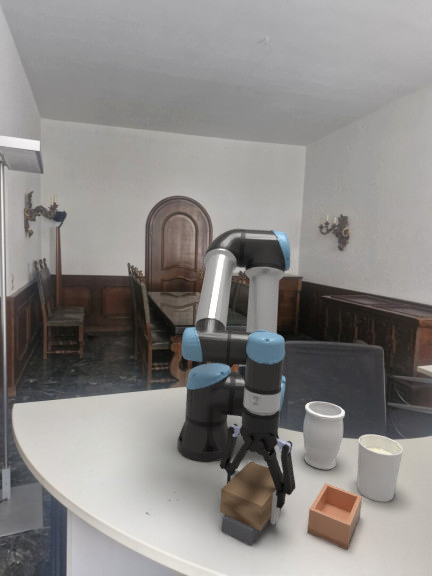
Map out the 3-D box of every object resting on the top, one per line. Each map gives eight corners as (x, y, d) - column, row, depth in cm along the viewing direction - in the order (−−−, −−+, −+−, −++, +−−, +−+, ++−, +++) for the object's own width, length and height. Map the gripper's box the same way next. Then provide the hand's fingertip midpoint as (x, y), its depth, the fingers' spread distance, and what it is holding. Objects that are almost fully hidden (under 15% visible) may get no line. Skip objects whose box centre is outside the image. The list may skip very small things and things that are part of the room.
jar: (341, 475, 102) (347, 419, 100) (300, 468, 104) (305, 413, 102) (337, 454, 112) (342, 403, 111) (300, 449, 114) (304, 398, 113)
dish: (307, 532, 81) (309, 509, 80) (323, 503, 90) (325, 483, 89) (347, 549, 77) (350, 525, 76) (359, 518, 86) (362, 496, 85)
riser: (221, 531, 79) (222, 517, 79) (254, 493, 92) (255, 481, 92) (251, 545, 76) (252, 531, 76) (281, 504, 89) (282, 492, 89)
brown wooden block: (219, 512, 81) (221, 489, 80) (248, 481, 92) (250, 461, 91) (260, 530, 76) (262, 506, 75) (285, 496, 87) (287, 474, 87)
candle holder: (393, 510, 89) (399, 459, 88) (349, 493, 94) (354, 445, 93) (399, 488, 98) (405, 442, 96) (358, 474, 103) (363, 430, 101)
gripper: (206, 400, 84) (200, 500, 86) (306, 430, 73) (296, 544, 75) (224, 390, 90) (218, 483, 93) (318, 416, 79) (309, 521, 82)
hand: (253, 510), depth 84 cm, fingers closed on brown wooden block, 9 cm apart
